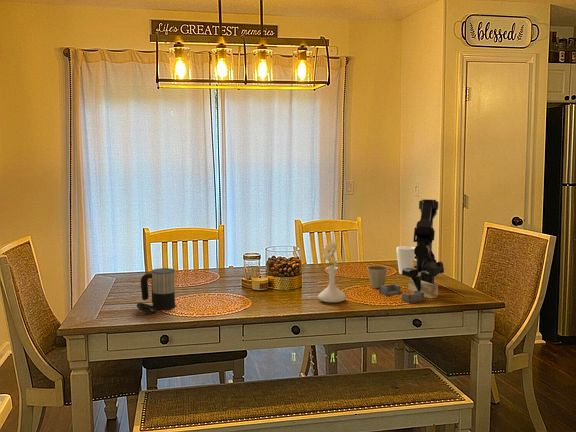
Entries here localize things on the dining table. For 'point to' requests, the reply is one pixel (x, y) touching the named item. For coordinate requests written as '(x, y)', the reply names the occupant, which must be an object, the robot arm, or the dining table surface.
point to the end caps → (407, 298)
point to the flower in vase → (331, 277)
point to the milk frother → (158, 290)
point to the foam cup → (405, 257)
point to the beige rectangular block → (425, 289)
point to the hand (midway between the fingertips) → (422, 290)
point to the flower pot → (377, 275)
